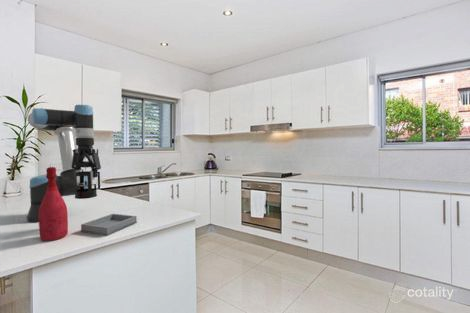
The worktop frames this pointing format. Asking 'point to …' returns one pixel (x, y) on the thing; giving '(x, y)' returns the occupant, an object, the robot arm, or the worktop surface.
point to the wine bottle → (52, 211)
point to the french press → (88, 191)
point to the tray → (108, 224)
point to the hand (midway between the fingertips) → (86, 183)
